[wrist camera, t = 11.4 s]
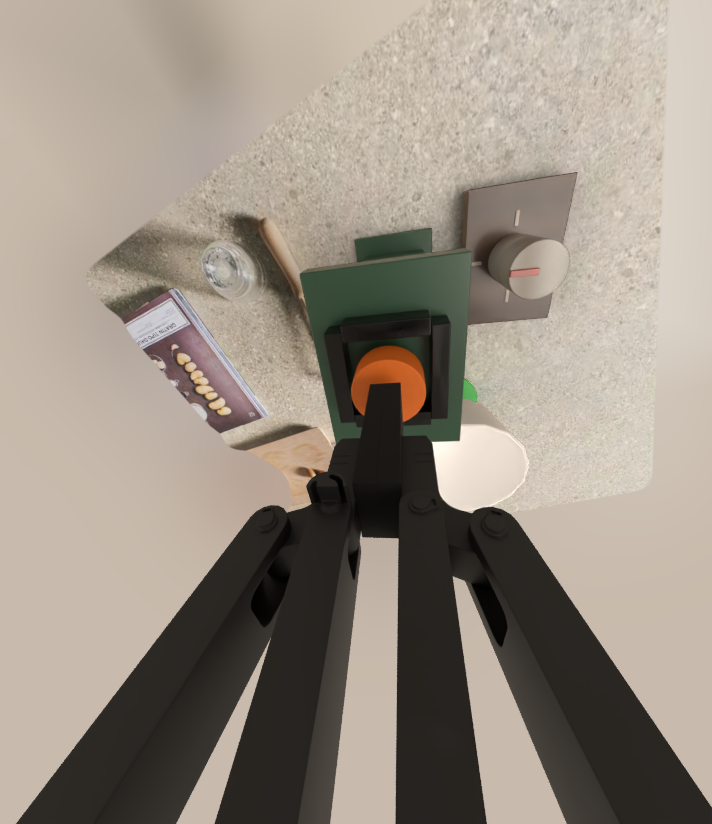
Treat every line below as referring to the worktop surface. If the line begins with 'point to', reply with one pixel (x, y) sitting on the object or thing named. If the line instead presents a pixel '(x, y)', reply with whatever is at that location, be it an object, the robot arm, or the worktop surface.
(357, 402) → the button
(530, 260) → the dial
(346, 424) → the control post
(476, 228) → the dial panel
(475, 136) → the worktop surface
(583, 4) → the worktop surface
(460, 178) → the worktop surface
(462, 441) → the cup
